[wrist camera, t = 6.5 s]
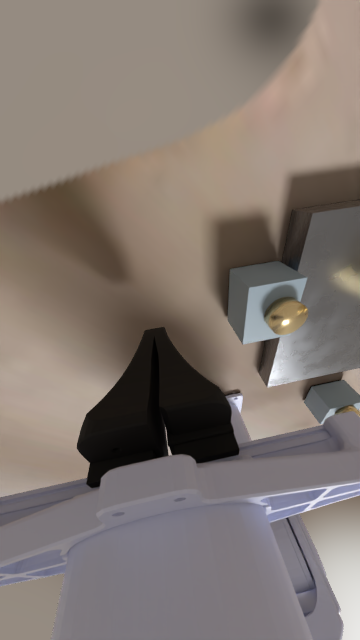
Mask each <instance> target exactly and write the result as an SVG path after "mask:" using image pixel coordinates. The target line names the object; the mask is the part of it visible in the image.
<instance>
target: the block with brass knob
mask: <svg viewBox="0 0 360 640" xmlns="http://www.w3.org/2000/svg"><path fill="white" fill-rule="evenodd" d="M307 278H308V277H306V276H304V275H302V274H301V273H299V272H297V271H295V270H293V269H292V268H290V267H288V266H286V265H285V264H283V263H281V262H279V261H274V262H269V263H263V264H257V265H251V266H245V267H239V268H233V269H230V277H229V299H228V322H229V323H230V325H231V326H232V328H233V330H234V331H235V333H236V334H237V336H238V338H239V339H240V341H241V342H242V344H247V343H252V342H258V341H263V340H268V339H273V338H278V337H283V336H288V335H290V334H291V333H292V332H294V331H296V330H297V329H299V328H300V327H301V326H302V325H303V324H304V322H305V321H306V319H307V317H308V309H307V307H306V306H305V305H303V304H302V303H301V302H300V301H301V298H302V294H303V291H304V288H305V284H306V281H307Z"/></svg>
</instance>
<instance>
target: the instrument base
mask: <svg viewBox="0 0 360 640" xmlns="http://www.w3.org/2000/svg"><path fill="white" fill-rule="evenodd" d="M282 263H283V264H285V265H286V266H288V267H290V268H292V269H293V270H295V271H297V272H299V273H301V274H302V275H304V276H306V277H308V278H307V281H306V284H305V288H304V291H303V294H302V298H301V301H300V302H301V303H302V304H303V305H305V306H306V307H307V309H308V317H307V319H306V321H305V322H304V324H303V325H302V326H301V327H300V328H299V329H297V330H296V331H294V332H292V333H291V334H290V335H288V336H283V337H278V338H273V339H268V340H266V341H265V346H264V351H263V356H262V361H261V366H260V371H259V375H260V376H261V378H262V380H263V381H264V383H265V385H266V386H267V387H271V386H276V385H281V384H285V383H290V382H295V381H300V380H304V379H309V378H314V377H319V376H323V375H328V374H333V373H338V372H342V371H347V370H352V369H357V368H360V200H354V201H348V202H341V203H335V204H328V205H321V206H315V207H308V208H302V209H295V210H292V215H291V220H290V225H289V229H288V234H287V239H286V244H285V249H284V254H283V259H282Z"/></svg>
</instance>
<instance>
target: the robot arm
mask: <svg viewBox="0 0 360 640" xmlns="http://www.w3.org/2000/svg"><path fill="white" fill-rule="evenodd" d="M242 400H243V395H242V394H241V393H238V394H233V395H228V396H225V395H224V394H223V392H222V391H221V390H220V388H219V387H218V386H216V385H215V384H213V383H212V382H210V381H209V380H207V379H206V378H205V377H203V376H202V375H201V374H200V373H198V372H197V371H196V370H195V369H194V368H193V367H192V366H191V365H190V364H188V363H187V361H186V360H185V359H184V358H183V357H182V356H181V355H180V353H179V352H178V351H177V350H176V348H175V347H174V345H173V344H172V342H171V341H170V339H169V337H168V335H167V333H166V330H165V328H164V327H161V328H155V329H150V330H145V331H144V334H143V337H142V340H141V342H140V345H139V347H138V349H137V351H136V353H135V355H134V357H133V359H132V361H131V363H130V364H129V366H128V368H127V369H126V371H125V372H124V374H123V375H122V376H121V378H120V379H119V380H118V382H117V383H116V384H115V386H114V387H113V388H112V389H111V390H110V391H109V392H108V394H107V395H106V396H105V397H104V398H103V399H102V400H101V401H100V402H99V403H98V404H97V405H96V406H95V407H94V408H93V409H92V410H90V411H89V412H88V413H87V414H86V417H85V420H84V422H83V425H82V427H81V431H80V435H79V439H78V443H77V449H78V451H79V452H80V454H81V455H82V456H83V457H84V458H85V459H86V460H87V461H88V462H90V467H89V472H88V477H87V478H85V479H80V480H76V481H71V482H67V483H63V484H58V485H54V486H49V487H45V488H40V489H36V490H31V491H27V492H23V493H18V494H14V495H9V496H5V497H0V586H4V585H9V584H14V583H19V582H24V581H28V580H33V579H39V578H43V577H49V576H54V575H59V574H64V573H65V574H64V579H63V584H62V588H61V593H60V599H59V603H58V608H57V613H56V617H55V622H54V627H53V632H52V637H51V640H341V639H342V636H343V621H342V619H341V617H340V615H339V614H340V612H341V609H340V606H339V604H338V602H337V600H336V597H335V595H334V593H333V591H332V589H331V587H330V584H329V582H328V580H327V578H326V572H325V570H324V567H323V565H322V562H321V560H320V557H319V555H318V553H317V550H316V548H315V546H314V544H313V542H312V539H311V537H310V535H309V533H308V531H307V529H306V527H305V524H304V523H303V520H302V518H301V516H300V514H299V513H302V512H305V511H308V510H312V509H315V508H318V507H321V506H324V505H328V504H331V503H335V502H338V501H341V500H345V499H348V498H352V497H355V496H359V495H360V417H359V416H358V415H357V414H356V413H355V412H354V411H349V412H345V413H340V414H336V415H332V416H330V417H328V418H327V419H326V420H325V421H324V423H323V425H321V426H316V427H312V428H307V429H303V430H299V431H294V432H290V433H285V434H281V435H276V436H272V437H267V438H263V439H259V440H254V441H252V440H251V438H250V435H249V433H248V431H247V428H246V426H245V424H244V421H243V419H242V417H241V407H242ZM165 427H166V430H167V440H168V446H169V447H170V450H171V453H172V455H170V456H169V455H168V448H167V440H166V431H165ZM301 553H302V554H301Z"/></svg>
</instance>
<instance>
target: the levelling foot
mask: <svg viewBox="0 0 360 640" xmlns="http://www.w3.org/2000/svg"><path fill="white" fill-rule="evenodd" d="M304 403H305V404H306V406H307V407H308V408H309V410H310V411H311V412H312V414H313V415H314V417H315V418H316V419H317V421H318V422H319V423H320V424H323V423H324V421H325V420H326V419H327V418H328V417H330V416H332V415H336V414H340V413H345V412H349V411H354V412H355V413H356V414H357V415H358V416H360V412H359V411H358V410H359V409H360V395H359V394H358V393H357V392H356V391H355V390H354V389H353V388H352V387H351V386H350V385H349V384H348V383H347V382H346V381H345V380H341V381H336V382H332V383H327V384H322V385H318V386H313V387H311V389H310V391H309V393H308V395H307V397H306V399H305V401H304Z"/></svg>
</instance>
